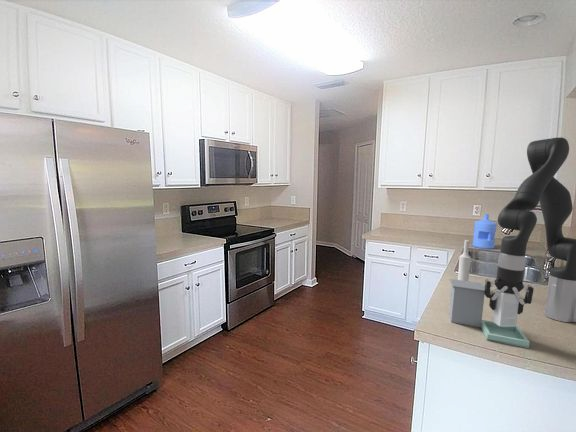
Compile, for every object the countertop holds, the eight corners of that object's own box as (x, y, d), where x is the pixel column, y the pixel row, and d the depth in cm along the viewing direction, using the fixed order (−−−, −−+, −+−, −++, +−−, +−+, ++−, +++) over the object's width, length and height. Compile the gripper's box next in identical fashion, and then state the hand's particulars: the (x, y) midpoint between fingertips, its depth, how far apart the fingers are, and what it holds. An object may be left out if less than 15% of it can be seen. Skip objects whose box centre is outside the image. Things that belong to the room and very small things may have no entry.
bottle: (462, 289, 154) (467, 241, 151) (454, 286, 159) (458, 239, 156) (470, 289, 156) (475, 241, 153) (462, 285, 161) (466, 239, 157)
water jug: (468, 244, 264) (471, 213, 261) (485, 245, 265) (488, 213, 262) (480, 249, 249) (484, 215, 245) (498, 249, 250) (502, 215, 246)
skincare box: (507, 321, 111) (511, 290, 109) (516, 327, 107) (520, 294, 105) (491, 321, 111) (495, 289, 109) (499, 326, 107) (503, 294, 105)
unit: (478, 318, 123) (482, 283, 121) (483, 328, 114) (487, 290, 112) (447, 312, 127) (450, 278, 125) (449, 322, 118) (453, 286, 117)
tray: (517, 331, 113) (518, 326, 112) (528, 348, 101) (529, 342, 101) (479, 325, 117) (480, 319, 117) (486, 340, 106) (487, 334, 106)
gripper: (489, 266, 105) (484, 311, 107) (540, 272, 100) (533, 319, 102) (484, 261, 112) (479, 303, 114) (532, 266, 107) (526, 311, 109)
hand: (505, 311), depth 108 cm, fingers closed on skincare box, 7 cm apart
